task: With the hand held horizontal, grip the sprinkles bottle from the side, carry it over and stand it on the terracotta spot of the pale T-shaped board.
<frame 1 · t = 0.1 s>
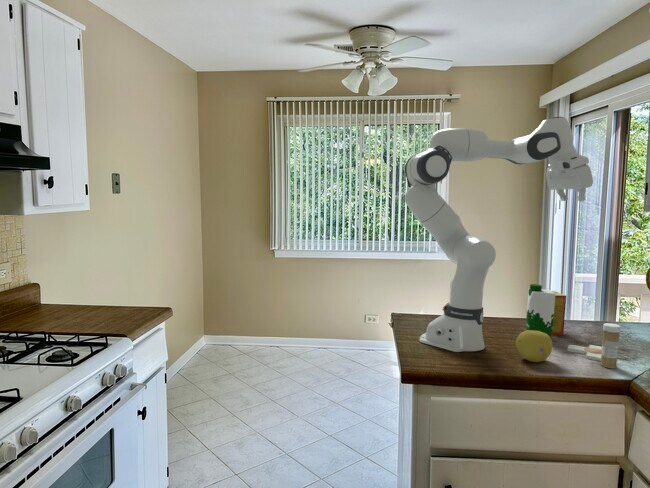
hand: (573, 200, 159), 52 cm above the counter, tool tilted 20°, fingers open, 8 cm apart
fruit: (533, 360, 147), on the counter
baking soda box: (548, 332, 180), on the counter
sprinkles bottle: (608, 366, 142), on the counter
milk carton: (538, 337, 172), on the counter
tee board: (587, 352, 155), on the counter
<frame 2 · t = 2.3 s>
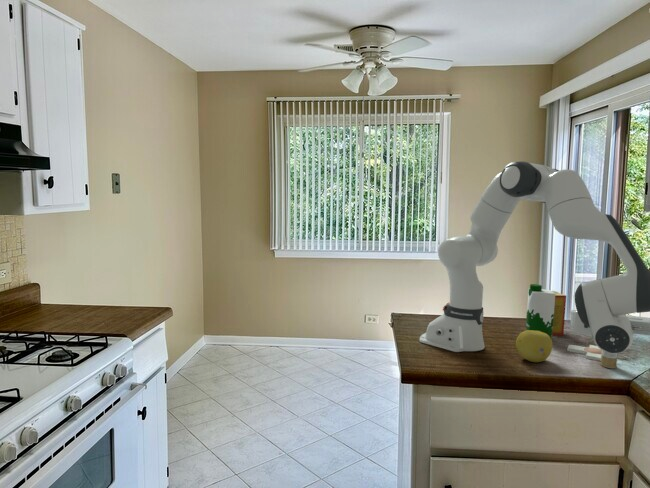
hand: (610, 316, 132), 18 cm above the counter, tool horizontal, fingers open, 8 cm apart
nothing on the counter moved.
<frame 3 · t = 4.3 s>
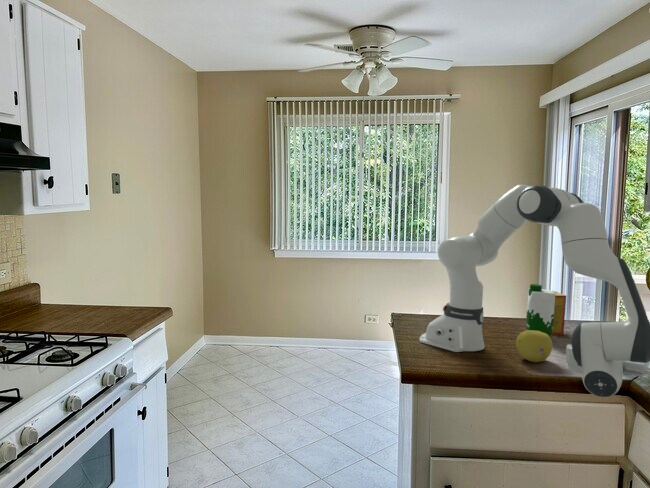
hand: (606, 352, 135), 7 cm above the counter, tool horizontal, fingers open, 8 cm apart
nothing on the counter moved.
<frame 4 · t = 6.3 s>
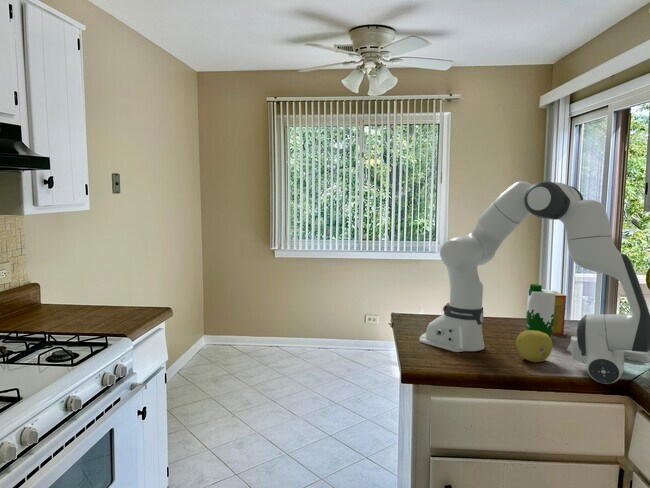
hand: (608, 343, 143), 7 cm above the counter, tool horizontal, fingers open, 5 cm apart
sprinkles bottle: (608, 366, 142), on the counter, touching gripper
everything else where it was.
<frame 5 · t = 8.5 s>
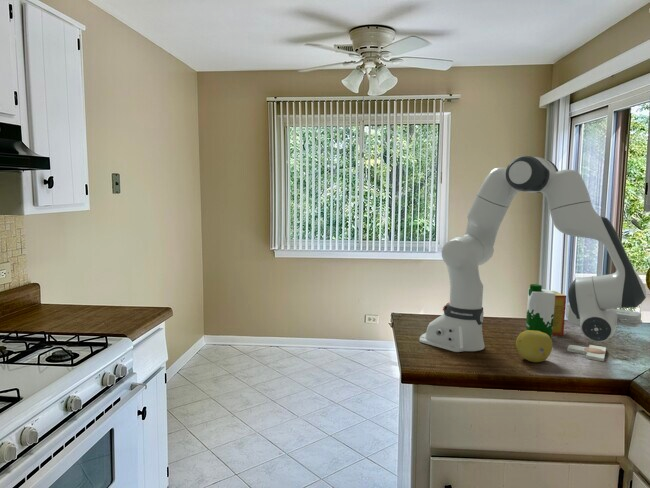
hand: (603, 309, 148), 16 cm above the counter, tool horizontal, fingers closed on sprinkles bottle, 4 cm apart
sprinkles bottle: (602, 332, 148), point 9 cm above the counter, touching gripper
everything else where it was.
when the fingers open (9 cm above the counter, at t = 10.7 s): sprinkles bottle moves 1 cm, resting on tee board.
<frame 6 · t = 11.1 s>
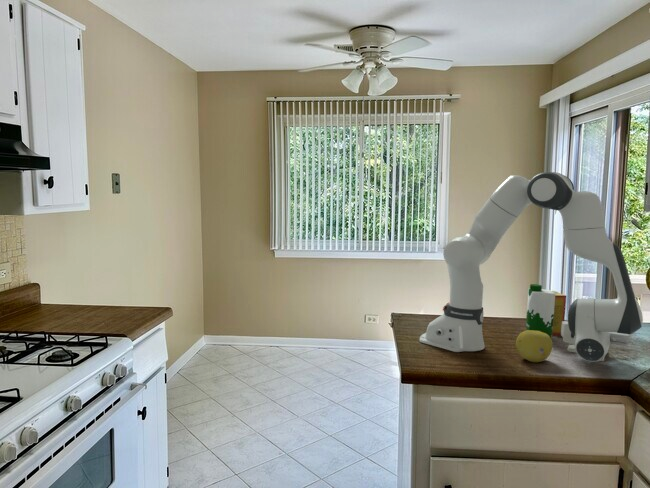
hand: (596, 327, 154), 9 cm above the counter, tool horizontal, fingers open, 8 cm apart
sprinkles bottle: (599, 352, 153), point 1 cm above the counter, touching tee board
everything else where it was.
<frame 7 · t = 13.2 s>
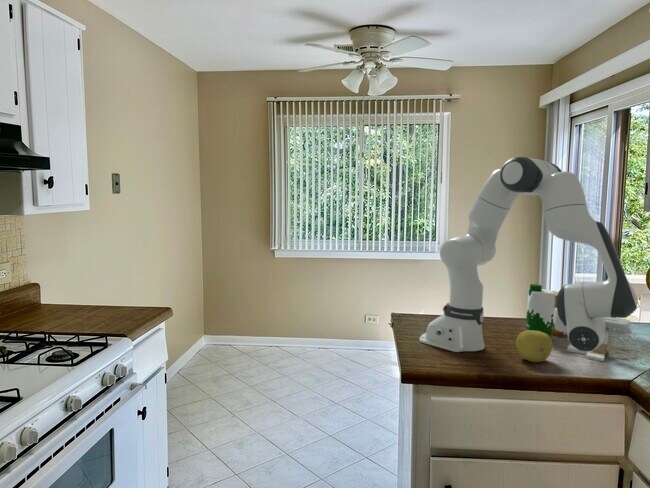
hand: (592, 315, 142), 16 cm above the counter, tool horizontal, fingers open, 8 cm apart
nothing on the counter moved.
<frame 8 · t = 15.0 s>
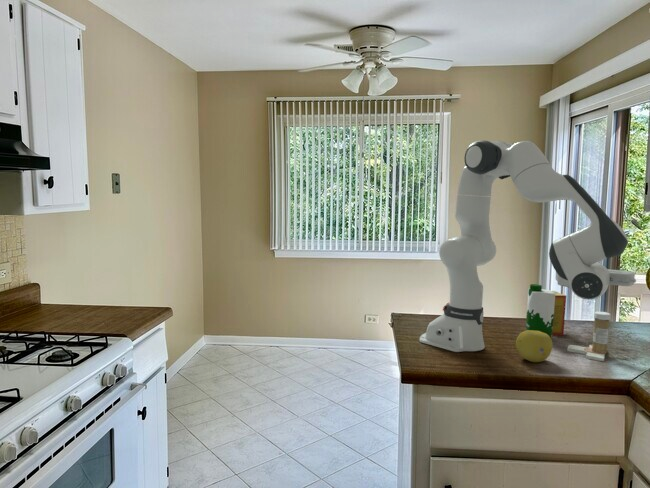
hand: (595, 271, 139), 30 cm above the counter, tool horizontal, fingers open, 8 cm apart
nothing on the counter moved.
at the end: sprinkles bottle 1.3 cm from the target spot on the tee board, point 0.9 cm above the tee board's base; sprinkles bottle tilted 0°; the gripper is holding nothing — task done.
